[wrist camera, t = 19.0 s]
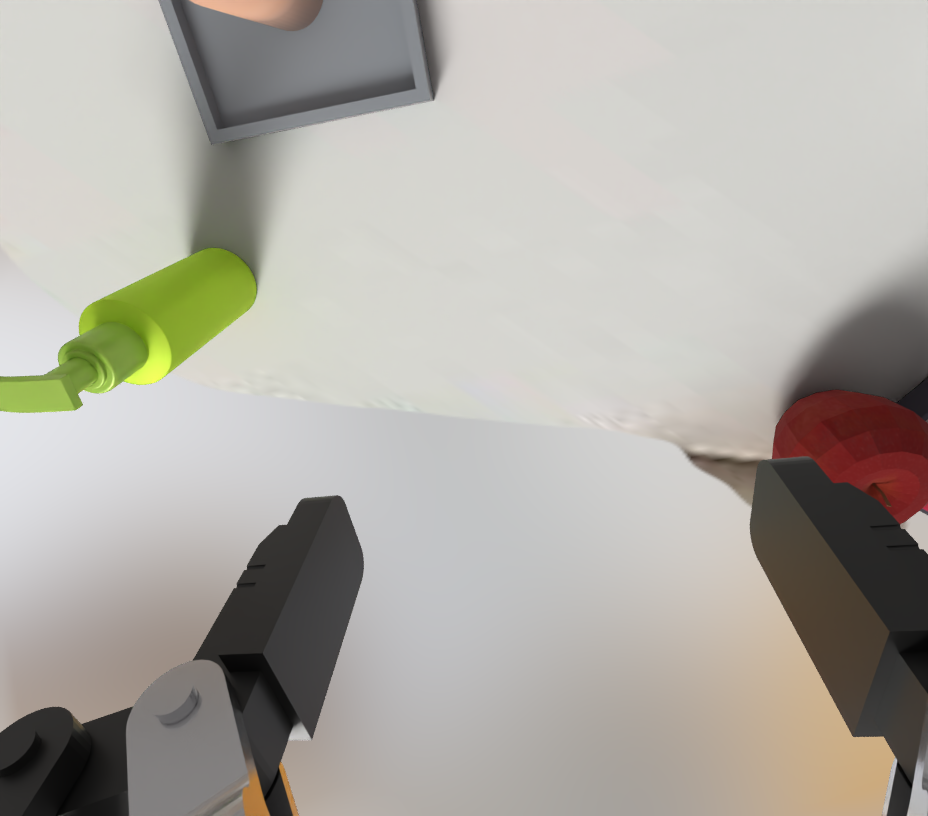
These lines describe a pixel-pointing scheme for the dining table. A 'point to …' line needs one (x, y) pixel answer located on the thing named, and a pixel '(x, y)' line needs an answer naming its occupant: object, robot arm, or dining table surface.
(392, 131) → the dining table surface
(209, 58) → the tray
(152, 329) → the soap dispenser
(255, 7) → the cup
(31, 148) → the dining table surface
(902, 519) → the apple
